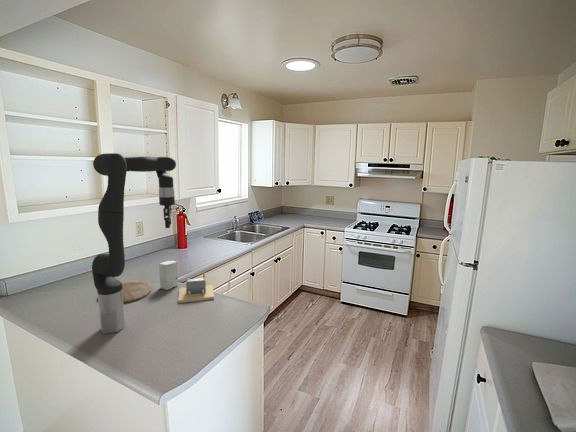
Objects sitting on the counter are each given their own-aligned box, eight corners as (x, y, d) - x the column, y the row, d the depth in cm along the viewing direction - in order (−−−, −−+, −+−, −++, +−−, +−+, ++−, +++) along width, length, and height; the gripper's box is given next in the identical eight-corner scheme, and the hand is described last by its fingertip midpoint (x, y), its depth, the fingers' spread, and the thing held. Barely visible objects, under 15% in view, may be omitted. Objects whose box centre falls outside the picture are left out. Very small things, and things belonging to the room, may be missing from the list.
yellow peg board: (214, 299, 160) (213, 292, 160) (178, 303, 155) (178, 295, 154) (212, 287, 176) (212, 280, 175) (179, 290, 170) (179, 283, 170)
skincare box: (166, 290, 170) (165, 265, 167) (159, 288, 173) (158, 263, 170) (178, 285, 177) (177, 261, 175) (171, 283, 180) (170, 259, 178)
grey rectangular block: (205, 292, 165) (205, 280, 163) (186, 294, 162) (186, 282, 160) (205, 289, 168) (205, 277, 167) (186, 291, 165) (186, 279, 164)
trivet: (93, 293, 165) (93, 290, 164) (141, 281, 182) (141, 278, 182) (107, 310, 147) (106, 306, 147) (158, 294, 165) (158, 291, 165)
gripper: (173, 197, 151) (175, 228, 154) (175, 194, 164) (176, 223, 167) (157, 197, 149) (159, 229, 152) (160, 194, 162) (162, 223, 165)
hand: (168, 226), depth 159 cm, fingers open, 8 cm apart
